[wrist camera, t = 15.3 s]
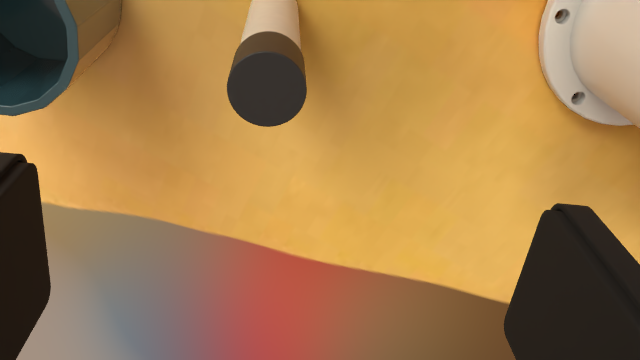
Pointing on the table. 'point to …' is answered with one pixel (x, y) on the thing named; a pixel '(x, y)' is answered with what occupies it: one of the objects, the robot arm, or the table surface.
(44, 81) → the pen holder
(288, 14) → the marker
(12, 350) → the robot arm
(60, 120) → the table surface
